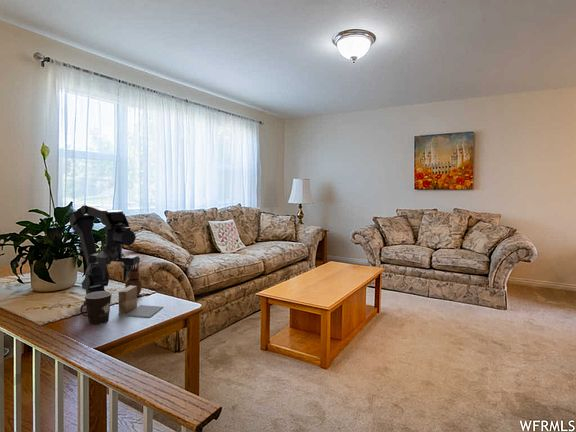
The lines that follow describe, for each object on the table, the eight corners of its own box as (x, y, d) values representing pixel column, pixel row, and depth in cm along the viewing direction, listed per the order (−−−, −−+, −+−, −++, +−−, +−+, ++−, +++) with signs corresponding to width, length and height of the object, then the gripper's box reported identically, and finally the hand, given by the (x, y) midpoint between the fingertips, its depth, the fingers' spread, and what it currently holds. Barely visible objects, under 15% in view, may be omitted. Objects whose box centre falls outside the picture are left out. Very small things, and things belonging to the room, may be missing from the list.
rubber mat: (125, 315, 134) (125, 314, 134) (140, 305, 144) (140, 305, 144) (149, 317, 133) (149, 316, 132) (163, 307, 143) (163, 306, 143)
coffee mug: (105, 314, 134) (105, 289, 133) (116, 321, 128) (115, 294, 128) (72, 323, 125) (71, 296, 124) (81, 330, 120) (81, 302, 119)
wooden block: (118, 313, 135) (118, 291, 135) (129, 306, 143) (129, 285, 143) (126, 314, 135) (125, 292, 134) (137, 307, 143) (137, 286, 142)
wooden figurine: (144, 293, 160) (144, 261, 159) (137, 297, 155) (137, 264, 153) (130, 292, 161) (130, 260, 160) (123, 296, 155) (122, 263, 154)
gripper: (77, 244, 130) (78, 284, 132) (125, 247, 129) (125, 287, 130) (96, 239, 141) (96, 276, 143) (140, 241, 140) (140, 279, 142)
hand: (114, 280), depth 139 cm, fingers open, 9 cm apart
